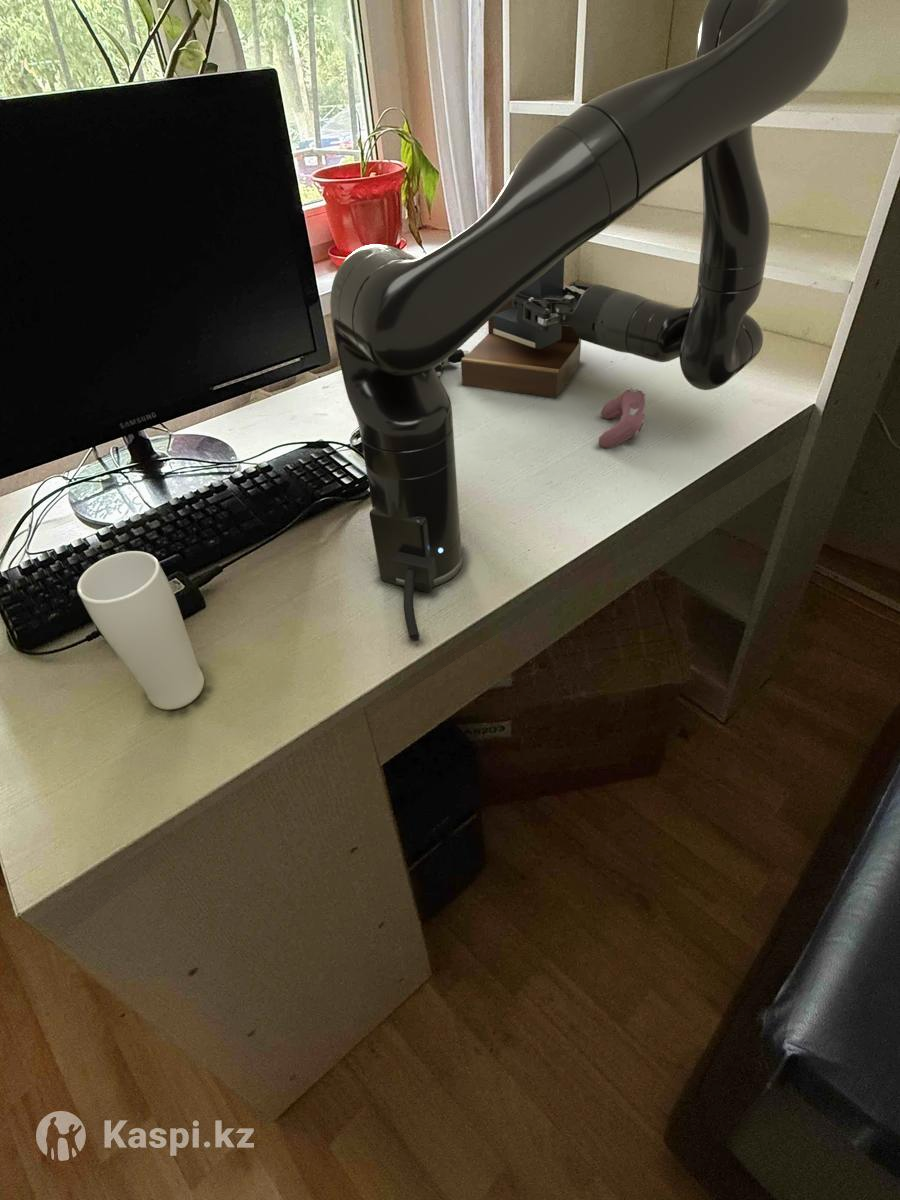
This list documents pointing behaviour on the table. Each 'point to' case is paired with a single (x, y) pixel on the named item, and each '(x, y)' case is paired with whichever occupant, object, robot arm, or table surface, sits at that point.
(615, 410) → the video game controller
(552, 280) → the dark l-shaped block
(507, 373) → the wooden l-shaped stand
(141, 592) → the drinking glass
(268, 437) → the table surface
